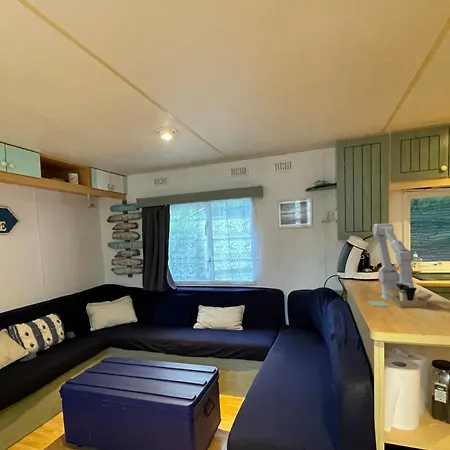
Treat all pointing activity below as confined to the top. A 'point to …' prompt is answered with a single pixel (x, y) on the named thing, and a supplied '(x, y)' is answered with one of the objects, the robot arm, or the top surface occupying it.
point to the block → (404, 296)
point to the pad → (378, 303)
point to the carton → (420, 301)
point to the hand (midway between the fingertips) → (407, 299)
